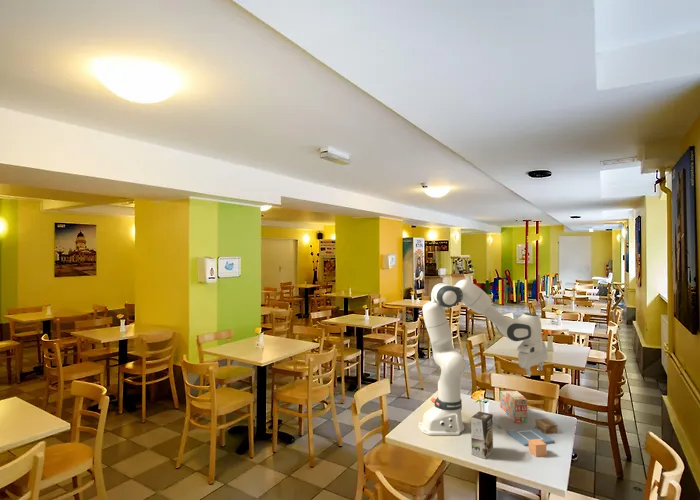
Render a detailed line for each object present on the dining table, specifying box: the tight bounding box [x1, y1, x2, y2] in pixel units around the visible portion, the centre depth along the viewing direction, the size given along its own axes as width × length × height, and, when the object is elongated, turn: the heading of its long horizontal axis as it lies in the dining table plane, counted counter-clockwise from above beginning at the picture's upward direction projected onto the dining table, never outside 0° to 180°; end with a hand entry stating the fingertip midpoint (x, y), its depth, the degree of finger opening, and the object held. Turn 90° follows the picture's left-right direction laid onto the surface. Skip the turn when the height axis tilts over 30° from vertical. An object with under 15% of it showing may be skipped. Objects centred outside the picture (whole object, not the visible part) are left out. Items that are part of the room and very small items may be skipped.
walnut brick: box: [535, 418, 558, 435], centre depth 196 cm, size 6×8×4 cm
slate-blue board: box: [506, 427, 555, 447], centre depth 188 cm, size 15×14×1 cm
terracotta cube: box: [528, 439, 547, 458], centre depth 173 cm, size 5×5×5 cm
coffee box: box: [470, 411, 494, 460], centre depth 174 cm, size 9×6×16 cm
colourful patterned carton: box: [499, 390, 528, 424], centre depth 215 cm, size 21×6×12 cm, turn 179°
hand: (534, 372), depth 200 cm, fingers open, 8 cm apart
